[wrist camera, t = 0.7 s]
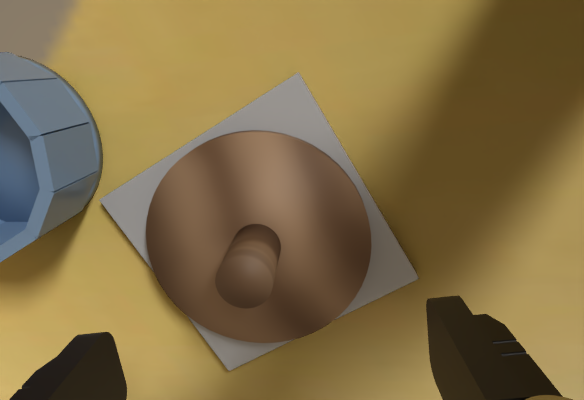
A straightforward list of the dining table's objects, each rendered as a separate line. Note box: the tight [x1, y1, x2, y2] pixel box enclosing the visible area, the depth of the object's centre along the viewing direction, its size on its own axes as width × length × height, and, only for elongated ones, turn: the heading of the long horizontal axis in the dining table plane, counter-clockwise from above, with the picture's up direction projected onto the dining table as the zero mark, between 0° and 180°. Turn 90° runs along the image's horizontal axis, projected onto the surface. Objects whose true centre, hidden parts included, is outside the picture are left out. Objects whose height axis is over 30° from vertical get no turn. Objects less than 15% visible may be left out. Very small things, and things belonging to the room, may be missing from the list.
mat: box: [100, 72, 419, 371], centre depth 30 cm, size 16×16×1 cm
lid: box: [146, 130, 372, 343], centre depth 27 cm, size 15×15×6 cm
